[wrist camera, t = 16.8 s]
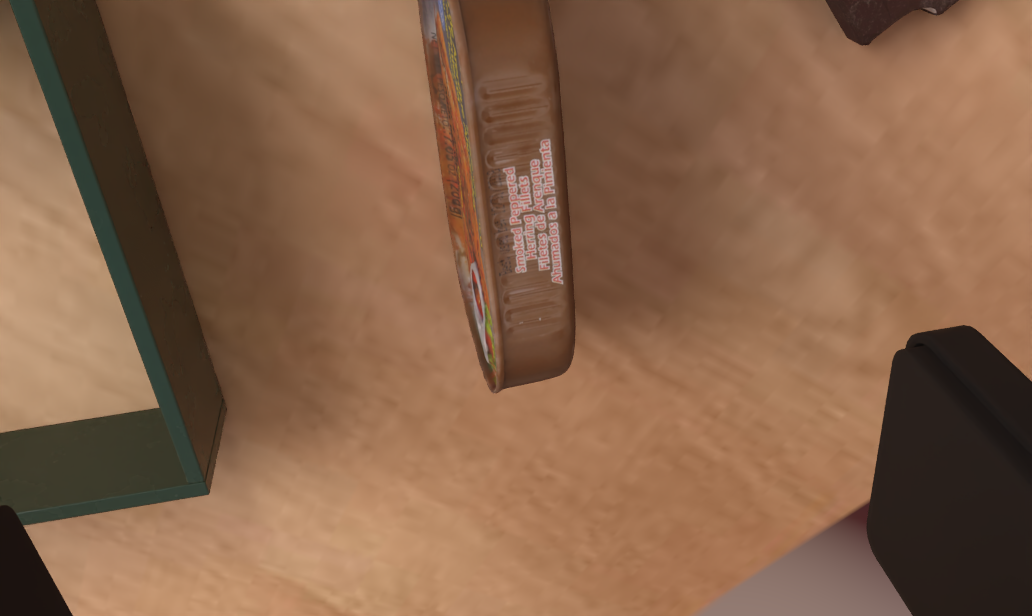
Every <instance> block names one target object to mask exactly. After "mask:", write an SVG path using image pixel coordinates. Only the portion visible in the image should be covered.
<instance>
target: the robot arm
mask: <svg viewBox="0 0 1032 616" xmlns="http://www.w3.org/2000/svg"><path fill="white" fill-rule="evenodd" d="M867 535H868V540H869V543H870V546H871V549H872V552H873V553H874V555H875V557H876V559H877V561H878V562H879V564H880V565H881V567H882V568H883V570H884V571H885V573H886V575H887V576H888V578H889V579H890V581H891V582H892V584H893V585H894V587H895V589H896V590H897V592H898V593H899V595H900V596H901V598H902V600H903V601H904V603H905V604H906V606H907V607H908V609H909V610H910V612H911V614H912V615H913V616H1032V382H1031V381H1030V380H1029V379H1028V378H1027V377H1026V376H1025V375H1024V374H1023V373H1022V372H1021V371H1020V370H1019V369H1018V368H1017V367H1016V366H1015V365H1013V364H1012V363H1011V362H1010V361H1009V360H1008V359H1007V358H1006V357H1005V356H1004V355H1003V354H1002V353H1001V352H1000V351H999V350H998V349H996V348H995V347H994V346H993V345H992V344H991V343H990V342H989V341H988V340H987V339H986V338H985V337H984V336H983V335H982V334H981V333H980V332H978V331H977V330H976V329H974V328H973V327H971V326H966V325H962V326H956V327H950V328H945V329H939V330H933V331H927V332H921V333H917V334H914V335H912V336H911V337H910V339H909V340H908V341H907V344H906V348H905V349H901V350H899V351H897V352H896V354H895V355H894V358H893V361H892V367H891V373H890V380H889V386H888V392H887V399H886V405H885V411H884V417H883V424H882V430H881V436H880V443H879V449H878V455H877V461H876V468H875V474H874V480H873V487H872V493H871V499H870V505H869V512H868V518H867ZM0 616H73V615H72V613H71V612H70V610H69V608H68V606H67V604H66V603H65V601H64V599H63V597H62V595H61V594H60V592H59V590H58V588H57V586H56V584H55V583H54V581H53V579H52V577H51V575H50V574H49V572H48V570H47V568H46V566H45V565H44V563H43V561H42V559H41V557H40V556H39V554H38V552H37V550H36V548H35V546H34V545H33V543H32V541H31V539H30V537H29V536H28V534H27V532H26V530H25V528H24V527H23V525H22V523H21V521H20V519H19V518H18V516H17V514H16V513H15V511H14V510H13V509H12V508H11V507H9V506H8V505H1V506H0Z"/></svg>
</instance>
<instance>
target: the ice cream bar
mask: <svg viewBox="0 0 1032 616" xmlns="http://www.w3.org/2000/svg"><path fill="white" fill-rule="evenodd" d="M957 1H959V0H826V2H827V4H828V6H829V7H830V9H831V11H832V12H833V14H834V16H835V18H836V19H837V21H838V23H839V25H840V26H841V28H842V30H843V31H844V33H845V35H846V36H847V38H849V39H851V40H852V41H854V42H856V43H858V44H860V45H869V44H870V43H871V41H872V40H873V39H875V38H876V37H877V36H878V35H880V34H881V33H882V32H883V31H885V30H886V29H887V28H888V27H890V26H891V25H892V24H894V23H895V22H896V21H897V20H899V19H900V18H902V17H903V16H905V15H906V14H908V13H909V12H911V11H913V10H917V9H921V10H923V11H926V12H928V13H930V14H933V15H940V14H942V13H944V12H945V11H946V10H947V9H948V8H950V7H951V6H952V5H953V4H955V3H956V2H957Z"/></svg>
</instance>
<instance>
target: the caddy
mask: <svg viewBox="0 0 1032 616" xmlns="http://www.w3.org/2000/svg"><path fill="white" fill-rule="evenodd" d="M9 1H10V4H11V7H12V10H13V12H14V15H15V18H16V20H17V23H18V26H19V28H20V31H21V34H22V37H23V39H24V42H25V45H26V47H27V50H28V53H29V55H30V58H31V61H32V64H33V66H34V69H35V72H36V74H37V77H38V80H39V82H40V85H41V88H42V91H43V93H44V96H45V99H46V101H47V104H48V107H49V109H50V112H51V115H52V118H53V120H54V123H55V126H56V128H57V131H58V134H59V136H60V139H61V142H62V145H63V147H64V150H65V153H66V155H67V158H68V161H69V164H70V166H71V169H72V172H73V174H74V177H75V180H76V182H77V185H78V188H79V191H80V193H81V196H82V199H83V201H84V204H85V207H86V209H87V212H88V215H89V218H90V220H91V223H92V226H93V228H94V231H95V234H96V236H97V239H98V242H99V245H100V247H101V250H102V253H103V255H104V258H105V261H106V263H107V266H108V269H109V272H110V274H111V277H112V280H113V282H114V285H115V288H116V291H117V293H118V296H119V299H120V301H121V304H122V307H123V309H124V312H125V315H126V318H127V320H128V323H129V326H130V328H131V331H132V334H133V336H134V339H135V342H136V345H137V347H138V350H139V353H140V355H141V358H142V361H143V363H144V366H145V369H146V372H147V374H148V377H149V380H150V382H151V385H152V388H153V390H154V393H155V396H156V399H157V401H158V404H159V407H160V408H156V409H150V410H144V411H137V412H131V413H125V414H119V415H112V416H106V417H100V418H93V419H87V420H81V421H75V422H68V423H62V424H56V425H49V426H43V427H37V428H31V429H24V430H18V431H12V432H5V433H0V506H1V505H8V506H9V507H11V508H12V509H13V510H14V511H15V513H16V514H17V516H18V518H19V519H20V521H21V523H22V525H23V526H24V525H30V524H36V523H42V522H48V521H54V520H60V519H66V518H72V517H78V516H84V515H90V514H96V513H102V512H108V511H114V510H120V509H126V508H131V507H137V506H143V505H149V504H155V503H161V502H167V501H173V500H179V499H185V498H191V497H197V496H203V495H208V494H209V493H210V489H211V484H212V479H213V474H214V469H215V464H216V459H217V455H218V450H219V445H220V440H221V435H222V430H223V425H224V420H225V416H226V411H227V408H226V405H225V402H224V399H223V396H222V393H221V390H220V387H219V384H218V381H217V377H216V374H215V371H214V368H213V365H212V362H211V359H210V356H209V353H208V350H207V346H206V343H205V340H204V337H203V334H202V331H201V328H200V325H199V322H198V318H197V315H196V312H195V309H194V306H193V303H192V300H191V297H190V294H189V291H188V287H187V284H186V281H185V278H184V275H183V272H182V269H181V266H180V263H179V259H178V256H177V253H176V250H175V247H174V244H173V241H172V238H171V235H170V232H169V228H168V225H167V222H166V219H165V216H164V213H163V210H162V207H161V204H160V200H159V197H158V194H157V191H156V188H155V185H154V182H153V179H152V176H151V173H150V169H149V166H148V163H147V160H146V157H145V154H144V151H143V148H142V145H141V141H140V138H139V135H138V132H137V129H136V126H135V123H134V120H133V117H132V114H131V110H130V107H129V104H128V101H127V98H126V95H125V92H124V89H123V86H122V82H121V79H120V76H119V73H118V70H117V67H116V64H115V61H114V58H113V54H112V51H111V48H110V45H109V42H108V39H107V36H106V33H105V30H104V27H103V23H102V20H101V17H100V14H99V11H98V8H97V5H96V2H95V0H9Z"/></svg>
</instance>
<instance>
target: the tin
mask: <svg viewBox="0 0 1032 616" xmlns="http://www.w3.org/2000/svg"><path fill="white" fill-rule="evenodd" d="M418 4H419V15H420V23H421V31H422V38H423V45H424V52H425V60H426V66H427V74H428V80H429V87H430V94H431V101H432V108H433V116H434V123H435V129H436V136H437V144H438V151H439V158H440V165H441V173H442V180H443V187H444V194H445V201H446V208H447V215H448V222H449V228H450V235H451V240H452V245H453V249H454V257H455V262H456V268H457V273H458V278H459V283H460V288H461V292H462V297H463V300H464V305H465V310H466V314H467V317H468V321H469V326H470V330H471V333H472V337H473V340H474V343H475V347H476V351H477V355H478V359H479V362H480V366H481V368H482V371H483V375H484V378H485V380H486V382H487V385H488V387H489V389H490V390H491V392H492V393H498V392H500V391H501V390H502V389H505V388H509V387H514V386H519V385H524V384H529V383H534V382H538V381H542V380H546V379H550V378H554V377H557V376H560V375H562V374H563V373H565V372H566V371H567V369H568V368H569V367H570V365H571V362H572V359H573V355H574V347H575V328H576V326H575V301H574V283H573V266H572V249H571V232H570V216H569V203H568V190H567V173H566V160H565V148H564V131H563V122H562V108H561V96H560V83H559V72H558V63H557V55H556V47H555V40H554V33H553V27H552V21H551V15H550V9H549V4H548V0H418Z"/></svg>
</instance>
